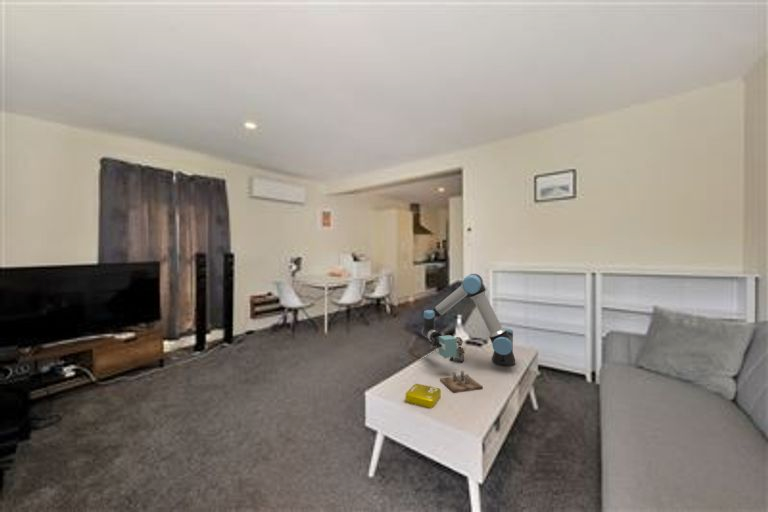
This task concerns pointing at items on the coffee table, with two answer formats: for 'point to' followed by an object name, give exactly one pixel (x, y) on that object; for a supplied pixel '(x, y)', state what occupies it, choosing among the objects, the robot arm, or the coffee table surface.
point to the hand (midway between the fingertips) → (451, 346)
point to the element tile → (423, 395)
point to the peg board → (459, 388)
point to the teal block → (448, 346)
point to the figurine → (459, 350)
